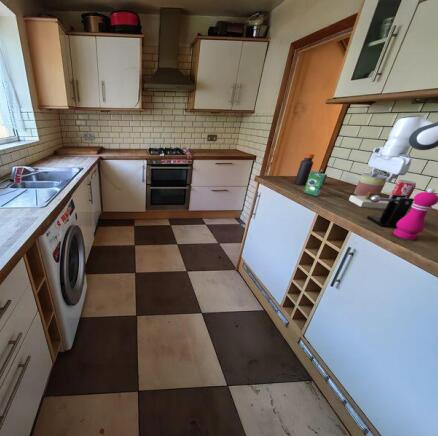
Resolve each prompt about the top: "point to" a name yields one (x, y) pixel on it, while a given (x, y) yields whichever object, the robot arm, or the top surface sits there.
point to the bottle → (304, 170)
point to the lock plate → (367, 202)
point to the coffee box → (315, 183)
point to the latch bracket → (393, 212)
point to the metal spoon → (383, 199)
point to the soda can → (403, 188)
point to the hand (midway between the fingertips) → (380, 179)
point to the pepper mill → (416, 215)
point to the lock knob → (371, 195)
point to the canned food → (370, 184)
